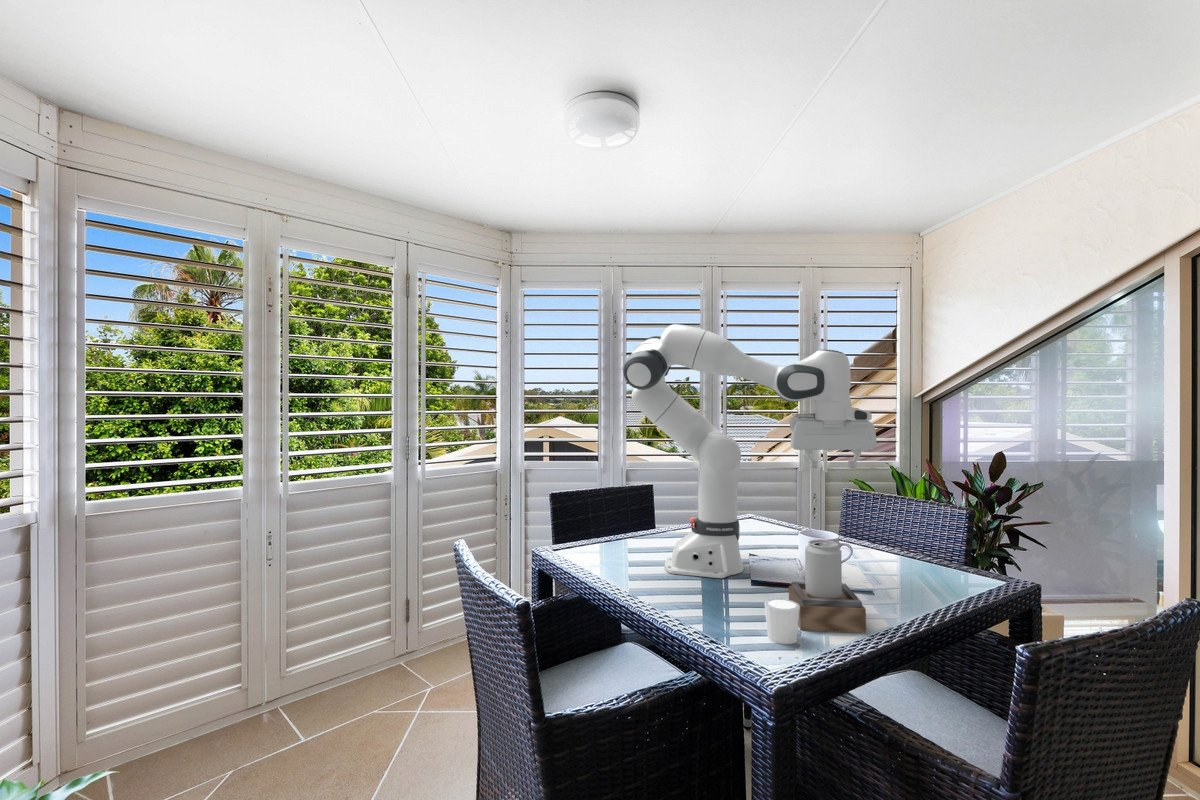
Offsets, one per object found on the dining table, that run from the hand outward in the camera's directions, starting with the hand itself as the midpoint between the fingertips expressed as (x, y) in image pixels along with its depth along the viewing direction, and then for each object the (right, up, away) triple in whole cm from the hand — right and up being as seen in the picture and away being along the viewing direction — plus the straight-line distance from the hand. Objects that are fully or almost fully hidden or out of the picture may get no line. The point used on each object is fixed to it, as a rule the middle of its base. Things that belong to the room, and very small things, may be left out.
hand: (832, 467), depth 142 cm
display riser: (-10, -31, -19) cm, 38 cm away
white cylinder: (-22, -32, -28) cm, 48 cm away
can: (-10, -26, -19) cm, 34 cm away
